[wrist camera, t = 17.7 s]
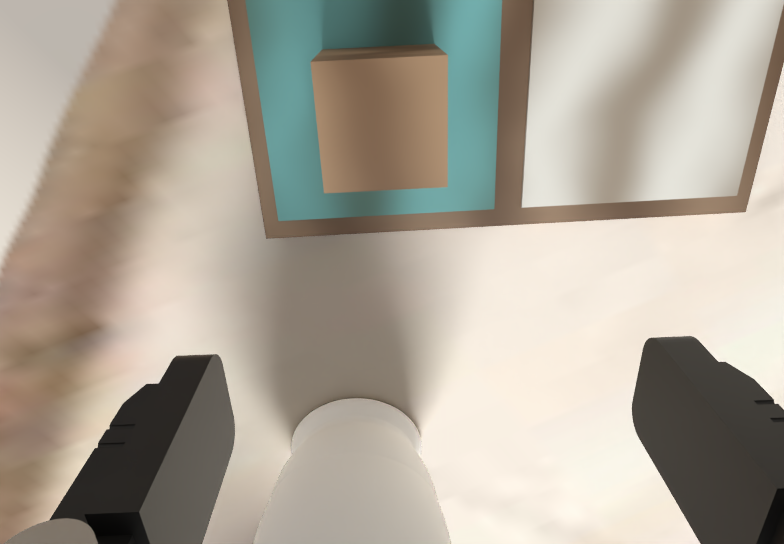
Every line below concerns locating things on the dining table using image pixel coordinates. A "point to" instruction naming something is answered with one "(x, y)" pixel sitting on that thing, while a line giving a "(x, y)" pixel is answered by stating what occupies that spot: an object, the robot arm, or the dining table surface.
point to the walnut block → (382, 117)
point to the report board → (525, 108)
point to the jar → (354, 481)
